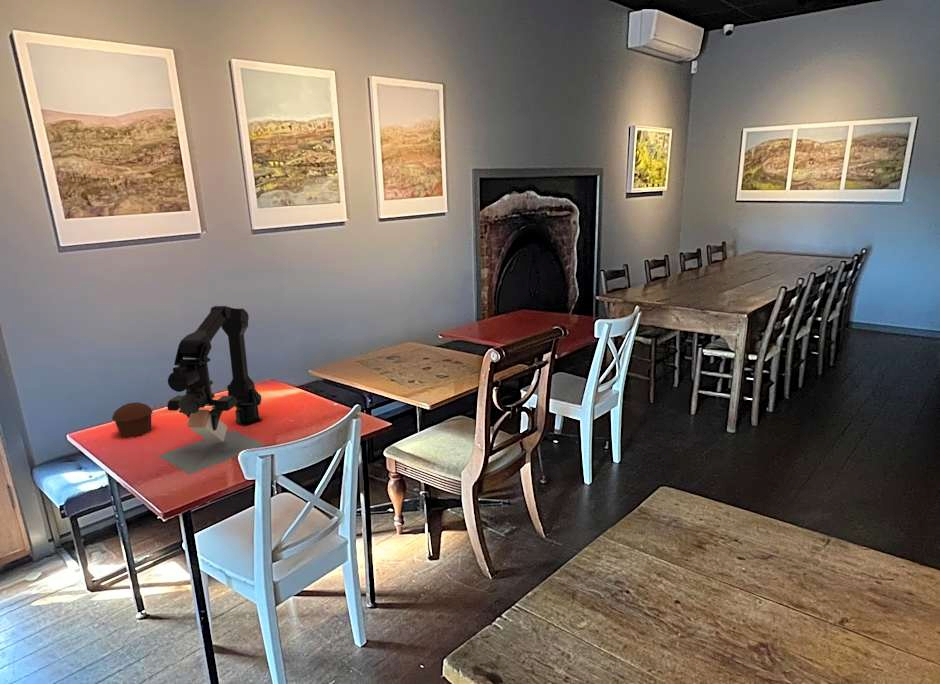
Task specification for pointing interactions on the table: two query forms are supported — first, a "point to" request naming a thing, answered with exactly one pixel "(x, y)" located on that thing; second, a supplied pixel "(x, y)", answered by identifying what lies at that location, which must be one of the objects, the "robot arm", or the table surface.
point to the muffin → (133, 419)
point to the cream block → (206, 426)
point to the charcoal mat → (209, 452)
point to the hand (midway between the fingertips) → (206, 430)
